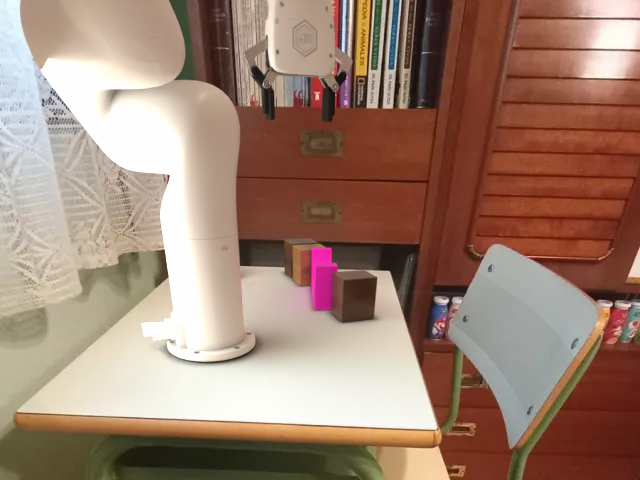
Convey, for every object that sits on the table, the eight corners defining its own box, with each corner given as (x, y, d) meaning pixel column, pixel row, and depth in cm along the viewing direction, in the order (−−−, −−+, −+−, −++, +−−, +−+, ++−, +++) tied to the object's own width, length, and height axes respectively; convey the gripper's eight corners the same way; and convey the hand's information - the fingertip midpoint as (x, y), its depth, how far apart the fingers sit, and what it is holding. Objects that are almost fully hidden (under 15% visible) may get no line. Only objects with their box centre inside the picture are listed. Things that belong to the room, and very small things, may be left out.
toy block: (349, 310, 86) (352, 266, 82) (314, 309, 85) (315, 266, 81) (341, 286, 98) (343, 247, 94) (311, 285, 98) (311, 247, 94)
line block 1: (291, 278, 102) (290, 244, 98) (284, 272, 106) (283, 239, 102) (317, 276, 104) (318, 242, 100) (310, 270, 108) (310, 238, 104)
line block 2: (341, 322, 80) (343, 280, 76) (330, 312, 84) (332, 272, 80) (374, 318, 82) (377, 277, 78) (361, 309, 86) (364, 269, 82)
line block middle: (300, 286, 97) (300, 250, 94) (292, 279, 101) (292, 245, 98) (327, 284, 99) (328, 248, 96) (319, 277, 103) (320, 243, 100)
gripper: (245, -36, 63) (252, 119, 72) (365, -21, 68) (357, 122, 77) (233, -23, 69) (241, 119, 78) (344, -10, 74) (339, 122, 83)
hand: (299, 120), depth 77 cm, fingers open, 9 cm apart
